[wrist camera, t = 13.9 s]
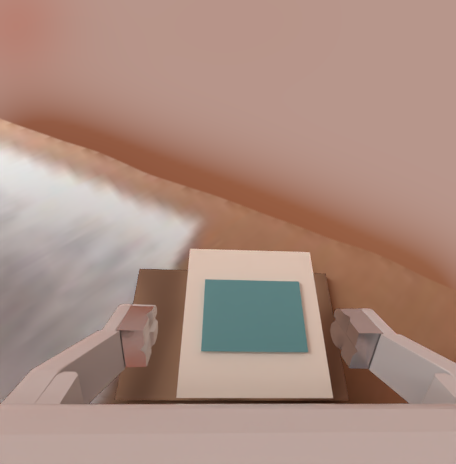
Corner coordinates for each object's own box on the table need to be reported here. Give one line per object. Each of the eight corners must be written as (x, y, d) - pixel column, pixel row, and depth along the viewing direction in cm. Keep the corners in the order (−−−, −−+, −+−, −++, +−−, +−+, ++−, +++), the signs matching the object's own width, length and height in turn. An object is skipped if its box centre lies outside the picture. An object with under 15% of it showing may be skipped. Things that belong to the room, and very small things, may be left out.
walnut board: (120, 396, 16) (114, 400, 15) (143, 272, 20) (139, 268, 19) (341, 397, 16) (349, 400, 15) (320, 276, 20) (325, 273, 19)
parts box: (198, 365, 16) (175, 399, 7) (202, 294, 18) (189, 246, 9) (267, 366, 16) (336, 399, 7) (263, 295, 18) (311, 250, 9)
